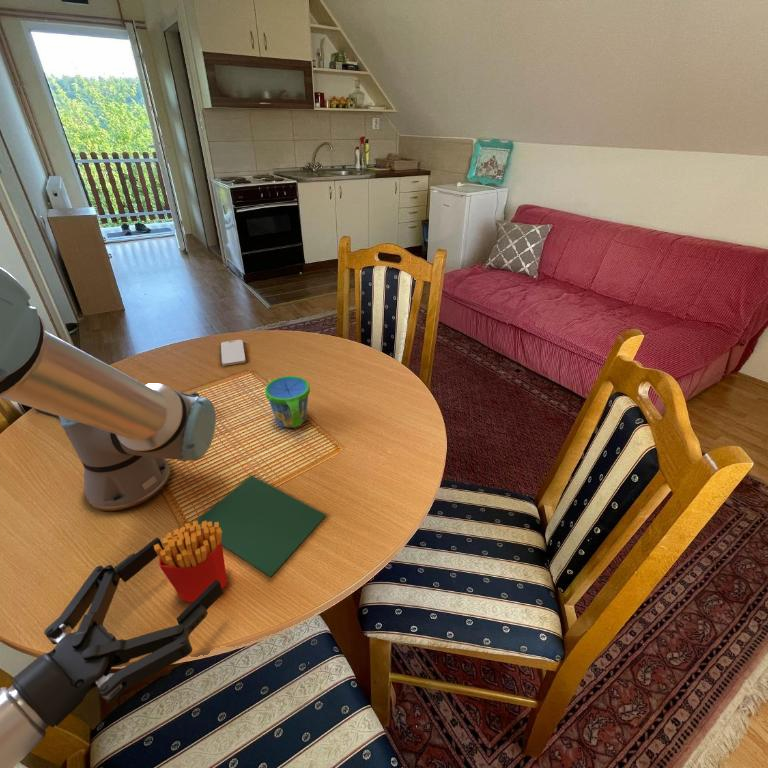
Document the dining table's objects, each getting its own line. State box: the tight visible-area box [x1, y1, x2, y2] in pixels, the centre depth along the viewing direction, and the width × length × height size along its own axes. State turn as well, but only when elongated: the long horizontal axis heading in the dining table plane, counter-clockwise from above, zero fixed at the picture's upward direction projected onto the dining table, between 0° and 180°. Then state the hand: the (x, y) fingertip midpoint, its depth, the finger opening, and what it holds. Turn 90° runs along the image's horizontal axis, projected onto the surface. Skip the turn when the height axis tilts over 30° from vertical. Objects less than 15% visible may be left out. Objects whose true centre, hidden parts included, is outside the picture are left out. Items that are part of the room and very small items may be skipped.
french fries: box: [154, 520, 228, 603], centre depth 64 cm, size 9×4×13 cm, turn 115°
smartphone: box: [219, 339, 247, 367], centre depth 134 cm, size 7×1×15 cm
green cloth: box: [191, 475, 327, 578], centre depth 79 cm, size 20×15×1 cm
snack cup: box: [264, 375, 311, 429], centre depth 102 cm, size 16×10×10 cm
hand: (189, 563), depth 63 cm, fingers open, 13 cm apart
